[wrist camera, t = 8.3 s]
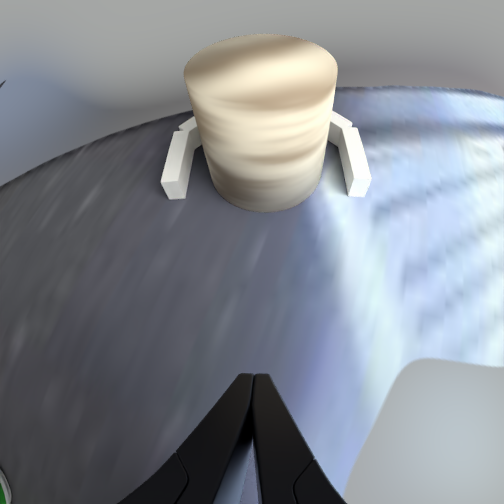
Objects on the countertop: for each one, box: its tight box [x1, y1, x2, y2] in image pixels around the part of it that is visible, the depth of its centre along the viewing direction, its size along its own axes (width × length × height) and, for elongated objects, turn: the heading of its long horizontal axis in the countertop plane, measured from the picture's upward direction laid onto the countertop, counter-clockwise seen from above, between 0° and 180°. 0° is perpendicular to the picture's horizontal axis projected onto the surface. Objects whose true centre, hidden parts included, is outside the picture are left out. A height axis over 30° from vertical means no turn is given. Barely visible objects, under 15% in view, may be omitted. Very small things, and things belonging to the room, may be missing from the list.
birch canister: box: [184, 34, 338, 213], centre depth 21 cm, size 10×10×11 cm
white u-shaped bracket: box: [161, 111, 372, 199], centre depth 26 cm, size 12×17×2 cm
